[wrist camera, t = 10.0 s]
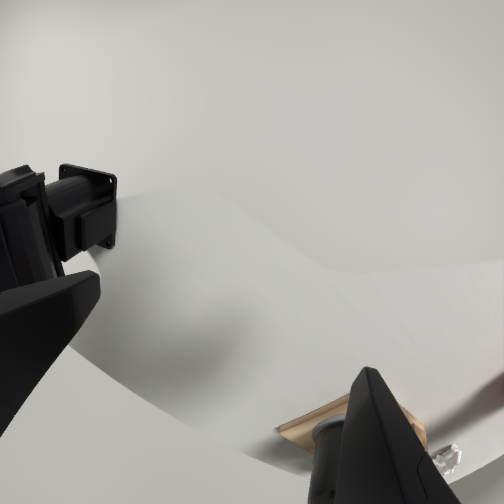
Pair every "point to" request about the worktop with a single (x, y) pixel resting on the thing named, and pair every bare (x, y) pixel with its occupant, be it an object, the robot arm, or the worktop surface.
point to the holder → (312, 423)
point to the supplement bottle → (326, 464)
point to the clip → (449, 460)
